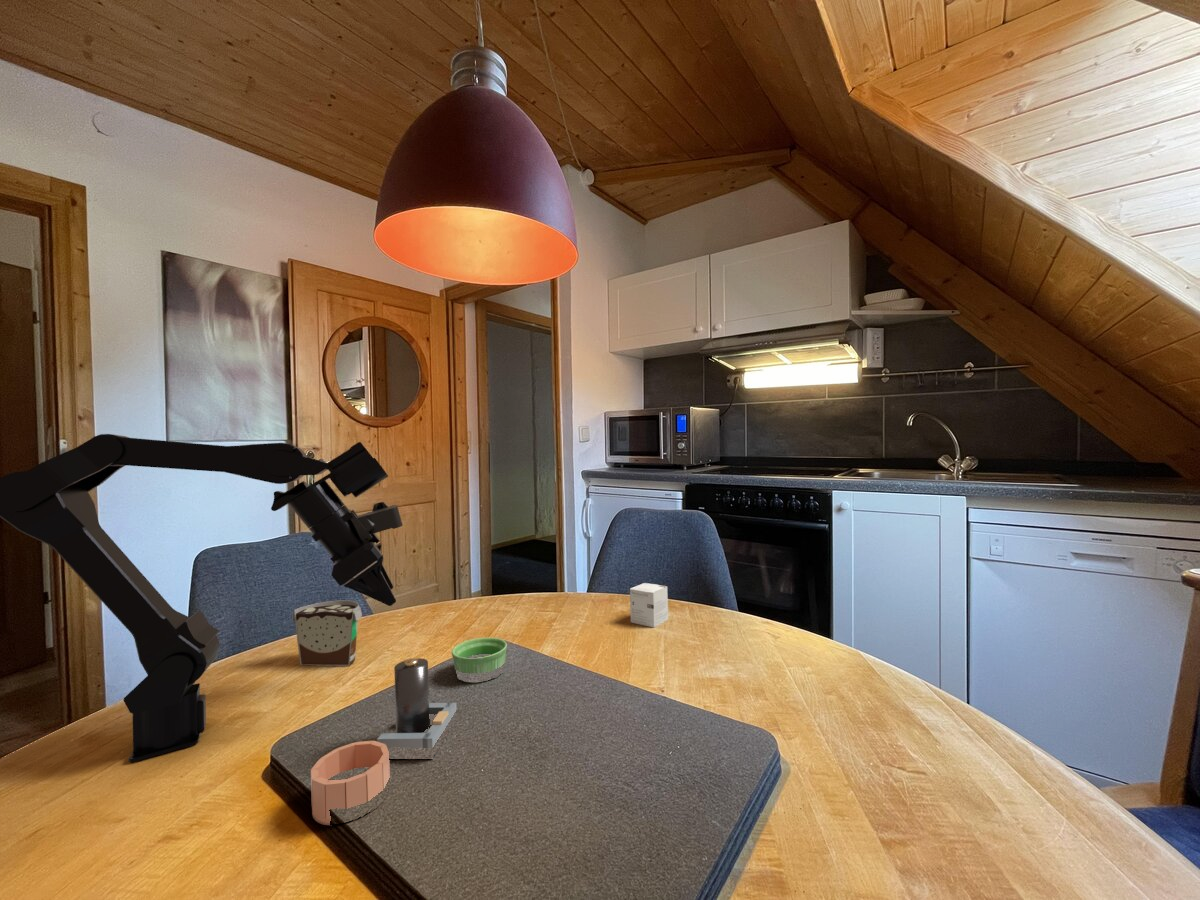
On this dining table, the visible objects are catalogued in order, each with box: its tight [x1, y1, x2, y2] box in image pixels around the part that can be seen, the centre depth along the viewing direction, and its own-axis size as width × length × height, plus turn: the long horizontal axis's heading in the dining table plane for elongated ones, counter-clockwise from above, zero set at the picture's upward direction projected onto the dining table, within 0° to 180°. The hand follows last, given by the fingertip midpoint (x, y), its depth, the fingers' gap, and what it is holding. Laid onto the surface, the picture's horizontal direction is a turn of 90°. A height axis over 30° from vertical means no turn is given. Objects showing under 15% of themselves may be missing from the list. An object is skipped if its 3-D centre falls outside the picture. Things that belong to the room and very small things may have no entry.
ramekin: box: [451, 637, 508, 674], centre depth 81 cm, size 9×9×4 cm
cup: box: [310, 740, 391, 826], centre depth 51 cm, size 7×7×4 cm
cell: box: [393, 657, 430, 733], centre depth 62 cm, size 4×4×10 cm
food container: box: [291, 599, 363, 667], centre depth 89 cm, size 12×6×10 cm, turn 84°
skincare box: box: [629, 582, 669, 628], centre depth 103 cm, size 6×6×7 cm
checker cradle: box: [376, 702, 458, 748], centre depth 61 cm, size 7×8×3 cm
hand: (392, 596), depth 75 cm, fingers open, 9 cm apart
